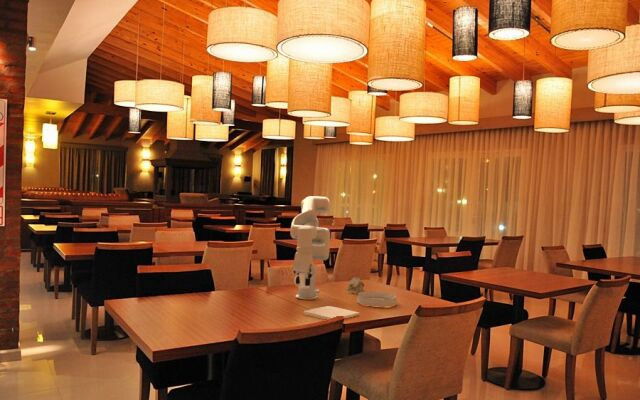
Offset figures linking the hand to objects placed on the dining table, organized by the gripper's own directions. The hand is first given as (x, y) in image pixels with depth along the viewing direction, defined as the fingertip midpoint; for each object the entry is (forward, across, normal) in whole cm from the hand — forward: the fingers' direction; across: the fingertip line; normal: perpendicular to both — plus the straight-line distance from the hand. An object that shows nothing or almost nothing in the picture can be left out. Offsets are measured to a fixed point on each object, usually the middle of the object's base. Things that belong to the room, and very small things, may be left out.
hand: (302, 284), depth 275 cm
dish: (+14, +20, +41) cm, 47 cm away
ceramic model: (+14, -7, +58) cm, 61 cm away
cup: (+2, 0, 0) cm, 2 cm away
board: (+12, +21, -1) cm, 24 cm away
